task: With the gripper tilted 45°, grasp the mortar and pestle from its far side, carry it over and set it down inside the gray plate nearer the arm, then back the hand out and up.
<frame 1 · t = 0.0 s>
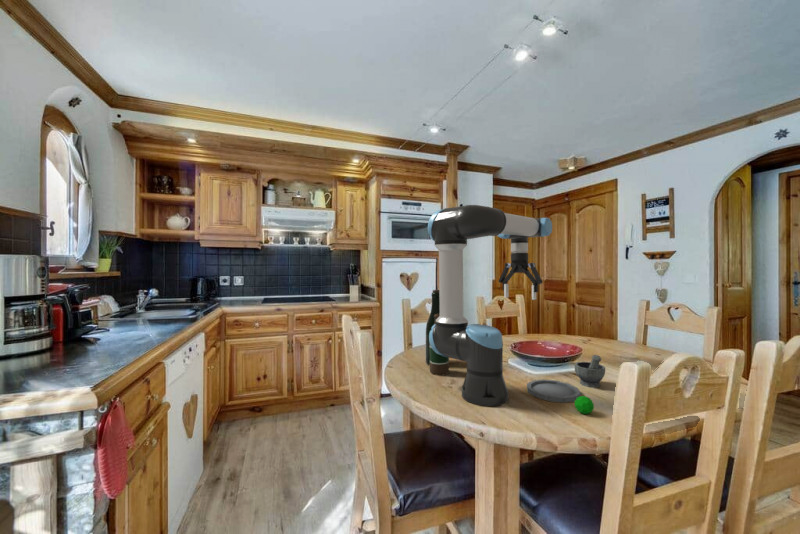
hand: (519, 298, 154), 28 cm above the table, tool pointing down, fingers open, 13 cm apart
wine bottle: (437, 363, 150), on the table
mortar and pestle: (590, 385, 121), on the table
polyhedron: (584, 413, 99), on the table
gray plate: (552, 392, 115), on the table
beer bottle 2: (439, 373, 137), on the table
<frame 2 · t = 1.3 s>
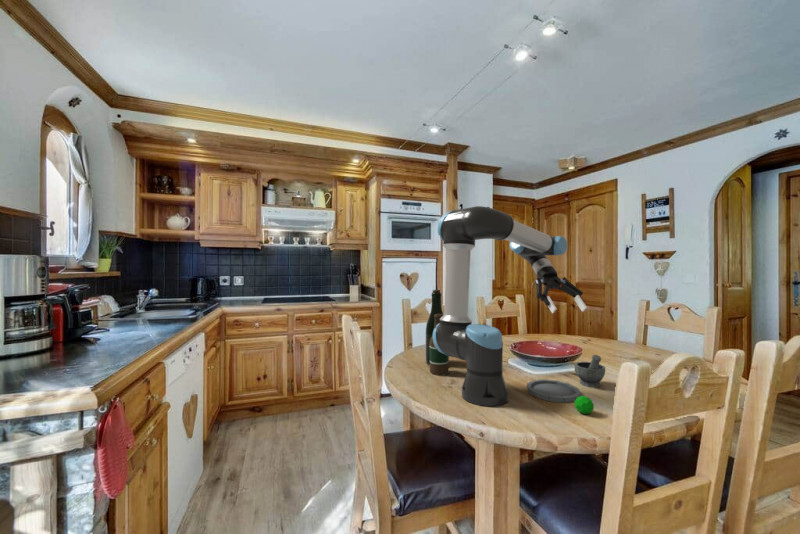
hand: (569, 310, 131), 26 cm above the table, tool tilted 45°, fingers open, 13 cm apart
nothing on the table moved.
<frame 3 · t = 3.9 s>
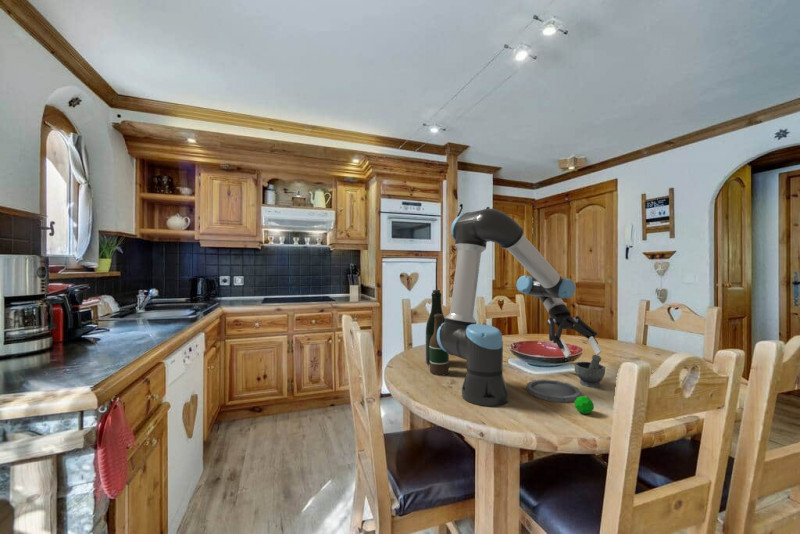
hand: (584, 354, 125), 10 cm above the table, tool tilted 45°, fingers open, 13 cm apart
nothing on the table moved.
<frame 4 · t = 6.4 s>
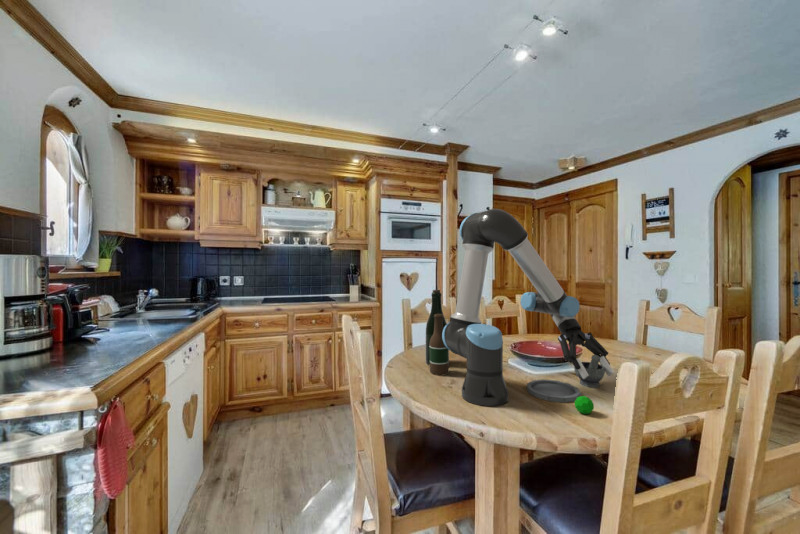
hand: (598, 375, 117), 5 cm above the table, tool tilted 45°, fingers closed on mortar and pestle, 10 cm apart
mortar and pestle: (590, 385, 121), on the table, touching gripper
everything else where it was.
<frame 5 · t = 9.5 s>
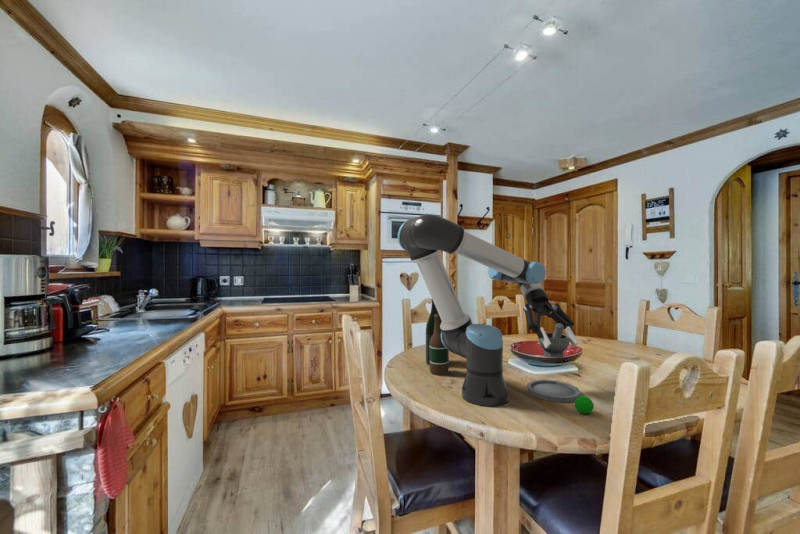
hand: (562, 345, 112), 17 cm above the table, tool tilted 45°, fingers closed on mortar and pestle, 10 cm apart
mortar and pestle: (554, 356, 116), point 12 cm above the table, touching gripper
everything else where it was.
when the fingers open (7 cm above the table, at t = 12.6 s): mortar and pestle drops 2 cm, resting on gray plate.
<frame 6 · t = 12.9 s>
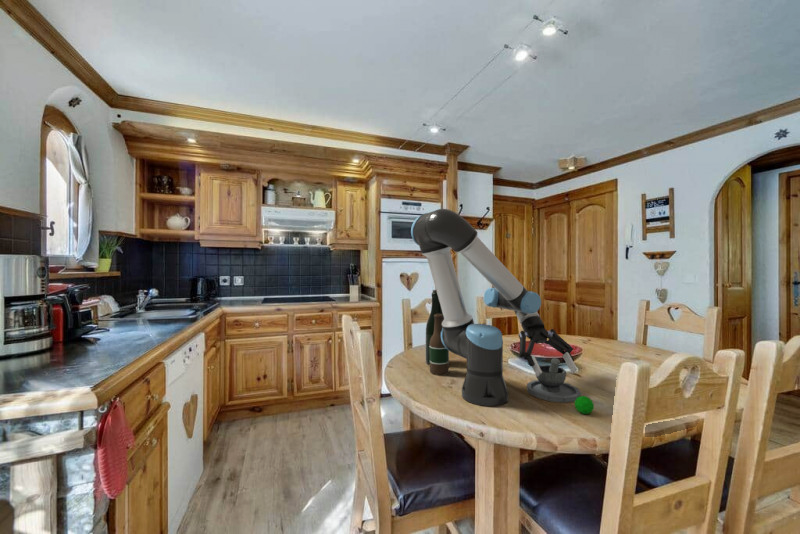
hand: (557, 372, 112), 7 cm above the table, tool tilted 45°, fingers open, 13 cm apart
mortar and pestle: (551, 390, 115), resting on gray plate
everything else where it was.
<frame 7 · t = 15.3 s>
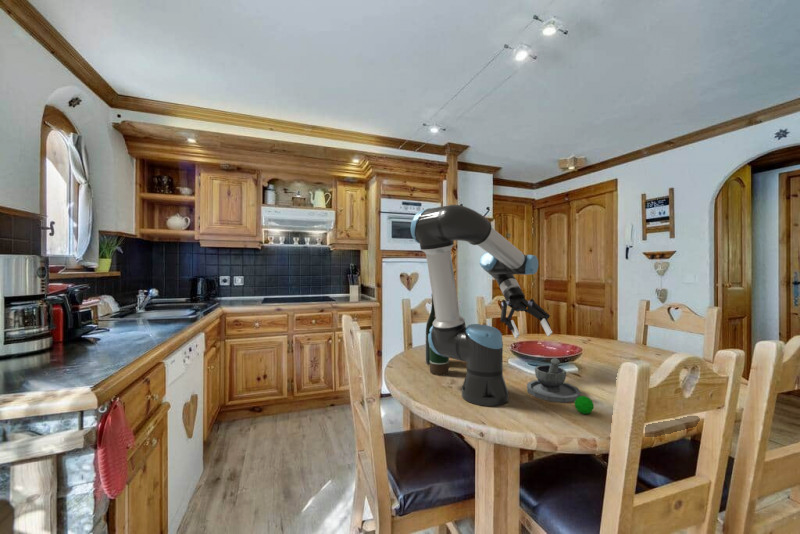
hand: (534, 335, 125), 17 cm above the table, tool tilted 45°, fingers open, 13 cm apart
nothing on the table moved.
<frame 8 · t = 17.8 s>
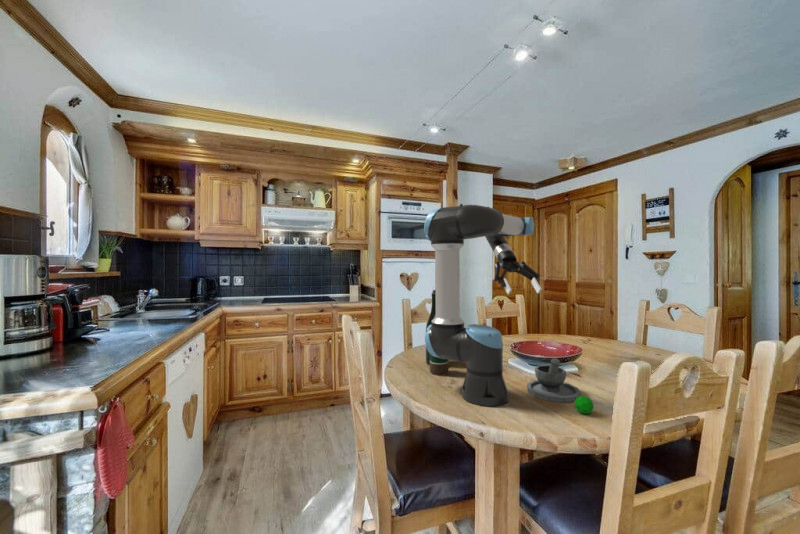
hand: (524, 291, 136), 33 cm above the table, tool tilted 45°, fingers open, 13 cm apart
nothing on the table moved.
at the end: mortar and pestle 0.7 cm off-centre on the gray plate, point 0.4 cm above the gray plate's base; mortar and pestle tilted 0°; the gripper is holding nothing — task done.
